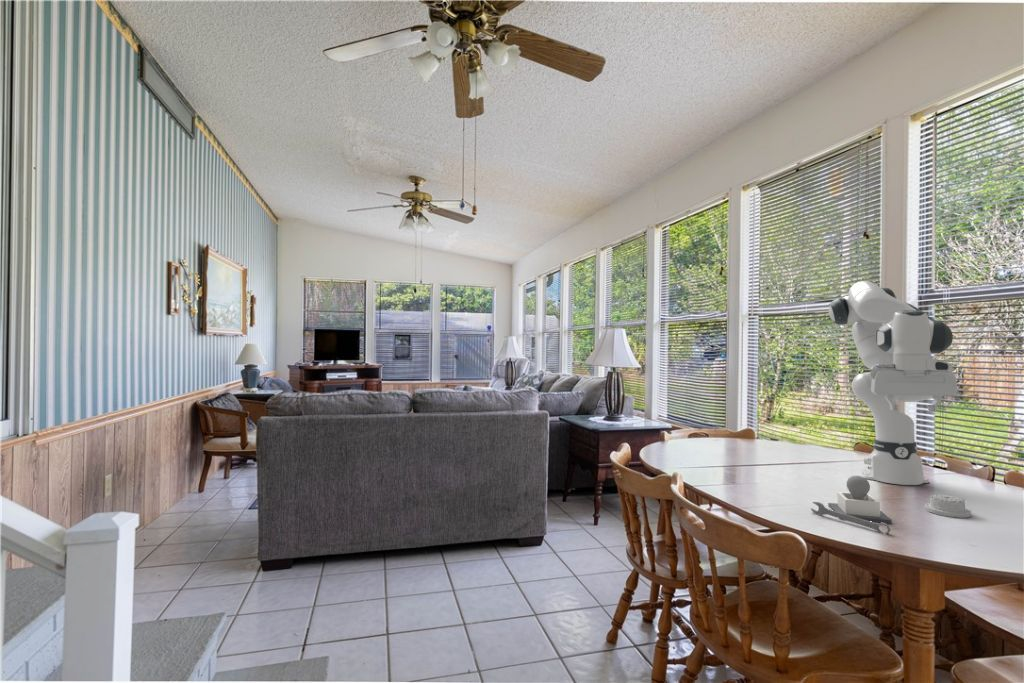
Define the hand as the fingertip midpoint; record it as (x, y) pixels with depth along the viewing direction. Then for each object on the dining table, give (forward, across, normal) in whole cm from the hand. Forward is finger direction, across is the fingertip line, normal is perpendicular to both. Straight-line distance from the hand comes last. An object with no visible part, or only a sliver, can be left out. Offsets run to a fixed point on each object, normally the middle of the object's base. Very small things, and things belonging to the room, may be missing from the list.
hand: (913, 410), depth 145 cm
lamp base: (+29, -18, -12) cm, 36 cm away
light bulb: (+28, -18, -12) cm, 35 cm away
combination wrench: (+29, -22, -21) cm, 42 cm away
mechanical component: (+29, +7, -2) cm, 30 cm away
